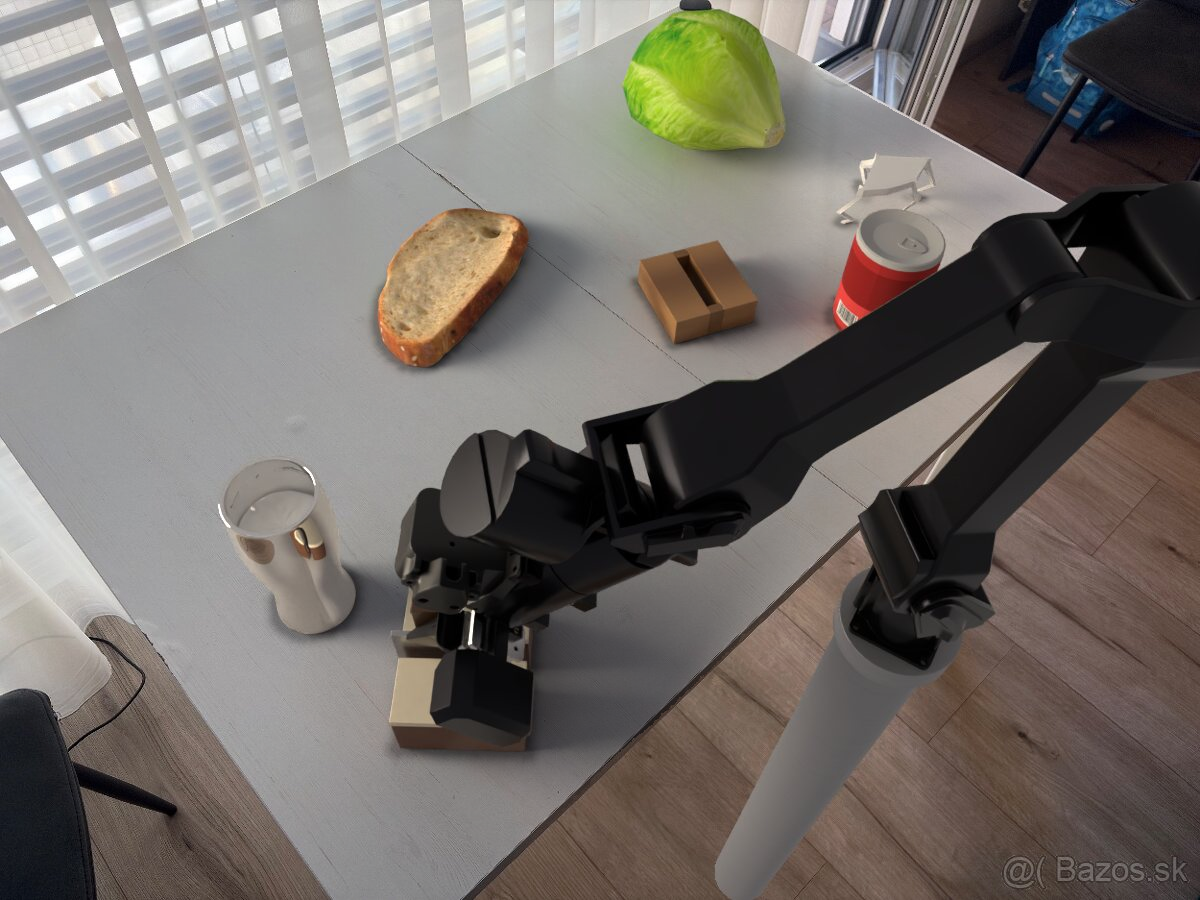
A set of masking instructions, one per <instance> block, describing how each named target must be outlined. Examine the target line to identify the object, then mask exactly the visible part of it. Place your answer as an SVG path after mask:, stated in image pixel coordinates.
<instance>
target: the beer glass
mask: <svg viewBox="0 0 1200 900" xmlns="http://www.w3.org/2000/svg"><path fill="white" fill-rule="evenodd" d="M324 489H325V488H323V486H322V484H321V482H320V480H319V478H318V475H317V473H316V472H315V471H314V469H313V468H312V467H311V465H309V464H308V463H306V462H305V461H304V460H302V459H299V458H297V457H295V456H290V455H284V454H283V455H282V454H273V455H265V456H261V457H258V458H255V459H252V460H250V461H247V462H246V463H244V464H243V465H241V466H239V468H237V469H236V470H234V471H233V472H232V473H231V475H229V477H228V478H227V480H226V481H225V482H224V484H223V485H222V487H221V489H220V492H219V497H218V511H219V514H220V517H221V519H222V521H223V523H224V526H225V529H226V531H227V534H228V537H229V539H230V542H231V543H232V545H233V548H234V550H235V552H236V554H237V555H238V556H239V558H240V560H241V561H242V563H243V564H244V565H245V567H246V568H247V569H248V570H249V571H250V573H251V574H252V575H253V576H254V577H255V578H256V579H257V580H258V581H259V582H260V583H261V584H262V585H263V586H265V588H267V589H268V590H269V591H270V592H271V593H272V594H273V595H274V601H275V607H276V611H277V614H278V617H279V618H280V620H281V621H282V623H283V624H284V625H285V626H286V627H287V628H289V629H290V630H292V631H294V632H296V633H299V634H304V635H316V634H321V633H326V632H328V631H330V630H332V629H334V628H337V626H339V625H340V624H341V623H343V622H344V621H345V620H346V619H347V617H348V616H349V615H350V614H351V612H352V610H353V608H354V605H355V603H356V596H357V595H356V594H357V593H356V592H357V591H356V586H355V583H354V580H353V579H352V577H351V575H350V574H349V573H348V572H347V571H346V570H345V569H344V567H342V564H341V546H340V545H341V543H340V534H339V525H338V522H337V518H336V515H335V512H334V508H333V506H332V504H331V502H330V499H329V498H328V495H327V493H326V491H325V490H324Z"/></svg>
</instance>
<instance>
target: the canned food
mask: <svg viewBox="0 0 1200 900" xmlns="http://www.w3.org/2000/svg"><path fill="white" fill-rule="evenodd" d="M946 245H947V244H946V239H945V236H944V234H943V233H942V231H941V230H940V228H939V227H938V226H936V224H935V223H933V221H931V220H929V219H928V218H926V217H924V216H923V215H920V214H919V213H915V212H913V211H909V210H907V209H906V210H902V209H900V208H899V209H898V208H883V209H878V210H875V211H872V212H870V213H868V214H867V215H865V216H864V217H863V218H861V221H859V224H858V226H857V227H856V231H855V234H854V237H853V239H852V243H851V246H850V249H849V251H848V252H849V253H848V257H847V259H846V263H845V265H844V269H843V272H842V276H841V279H840V282H839V285H838V289H837V292H836V295H835V299H834V302H833V305H832V315H833V321H834V324H835V326H836V327H837V329H838V330H839V332H840V331H841V330H843V329H844V328H846V327H848V326H849V325H851V324H852V323H854V322H856V321H857V320H859V319H861V318H862V317H864V316H865V315H867V314H869V313H870V312H872V311H874V310H875V309H877V308H878V307H880V306H882V305H883V304H885V303H887V302H888V301H890V300H891V299H893V298H895V297H896V296H898V295H899V294H901V293H903V292H904V291H906V290H908V289H909V288H911V287H912V286H914V285H916V284H917V283H919V282H921V281H922V280H924V279H925V278H927V277H929V276H930V275H932V274H934V273H935V272H937V271H938V270H939V268H940V266H941V263H942V260H943V259H944V255H945V251H946Z"/></svg>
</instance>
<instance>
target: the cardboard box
mask: <svg viewBox="0 0 1200 900" xmlns="http://www.w3.org/2000/svg"><path fill="white" fill-rule="evenodd" d="M638 263H639V264H638V274H637V275H638V276H637V283H638V285H639V287H640V288H641V290H642V292H643V293H644V295H645V297H646V299H647V300H648V303H649V304H650V306H651V307H652V309H653V312H654V313H655V314H656V316H657V317H658V319H659V321H660V323H661V324H662V326H663V328H664V330H665V331H666V333H667V335H668V337H669V339H670V340H671V341H672V343H673V345H676V344H679V343H682V342H687V341H689V340H694V339H696V338H701V337H704V336H708V335H711V334H714V333H718V332H723V331H726V330H729V329H733V328H736V327H741V326H744V325H746V324H747V325H748V324H751V323H754V320H755V315H756V311H757V308H758V303H759V299H758V298H757V297H756V296H757V295H755V294H754V292H753V290H752V289H751V288H750V286H749V285H748V283H747V282H746V280H745V278H744V277H743V276H742V274H741V273H740V271H739V270H738V268H737V266H736V265H735V263H734V262H733V261H732V259H731V258H730V256H729V255H728V254H727V252H726V250H725V248H724V247H723V246H722V244H721V243H720V241H719V240H713V241H709V242H705V243H701V244H697V245H694V246H690V247H685V248H682V249H679V250H675V251H671V252H666V253H663V254H659V255H655V256H650V257H646V258H643V259H640V260H639V261H638Z"/></svg>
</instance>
